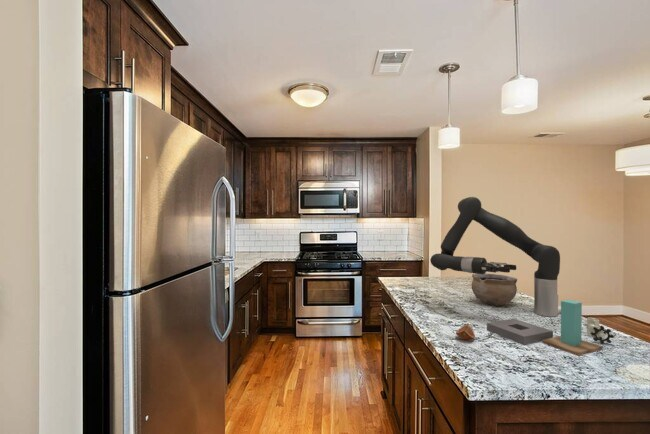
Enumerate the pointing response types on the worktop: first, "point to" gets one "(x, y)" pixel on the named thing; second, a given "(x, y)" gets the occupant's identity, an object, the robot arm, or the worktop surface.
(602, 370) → the worktop surface
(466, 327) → the fruit slice
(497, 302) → the ceramic bowl
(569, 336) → the plug
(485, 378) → the worktop surface
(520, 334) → the grey square socket plate
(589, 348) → the board
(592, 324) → the valve
